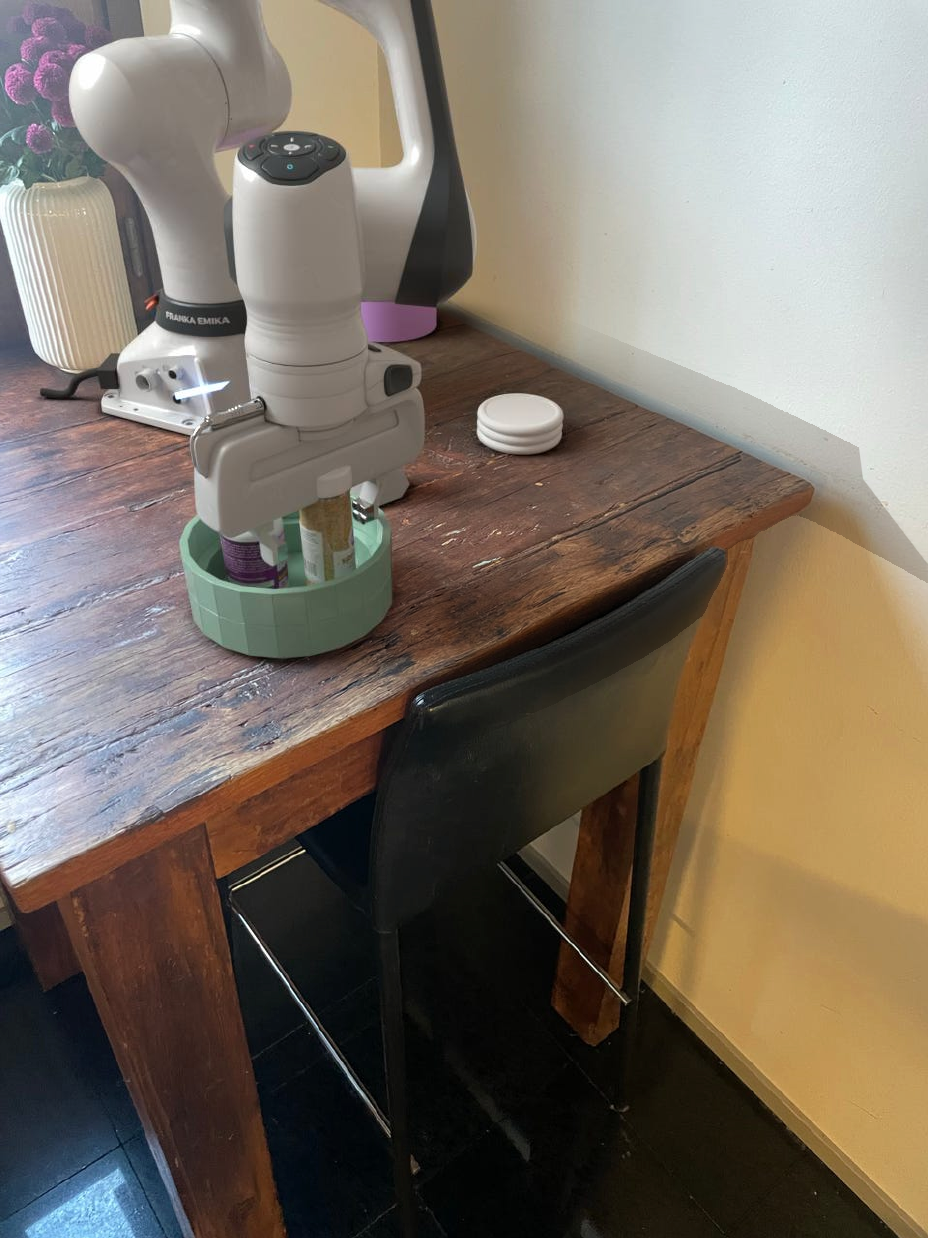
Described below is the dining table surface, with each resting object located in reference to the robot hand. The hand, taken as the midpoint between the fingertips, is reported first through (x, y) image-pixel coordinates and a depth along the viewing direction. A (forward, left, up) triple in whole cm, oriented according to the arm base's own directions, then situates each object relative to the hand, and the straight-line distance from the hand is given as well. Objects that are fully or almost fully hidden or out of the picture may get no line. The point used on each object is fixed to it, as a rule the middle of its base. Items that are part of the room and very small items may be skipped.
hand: (322, 539), depth 78 cm
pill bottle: (-6, 0, -7) cm, 9 cm away
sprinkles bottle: (+1, 0, -7) cm, 7 cm away
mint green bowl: (-3, 0, -7) cm, 8 cm away
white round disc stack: (+9, +38, -7) cm, 40 cm away
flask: (-3, +21, -7) cm, 22 cm away
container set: (-23, +68, -7) cm, 72 cm away
